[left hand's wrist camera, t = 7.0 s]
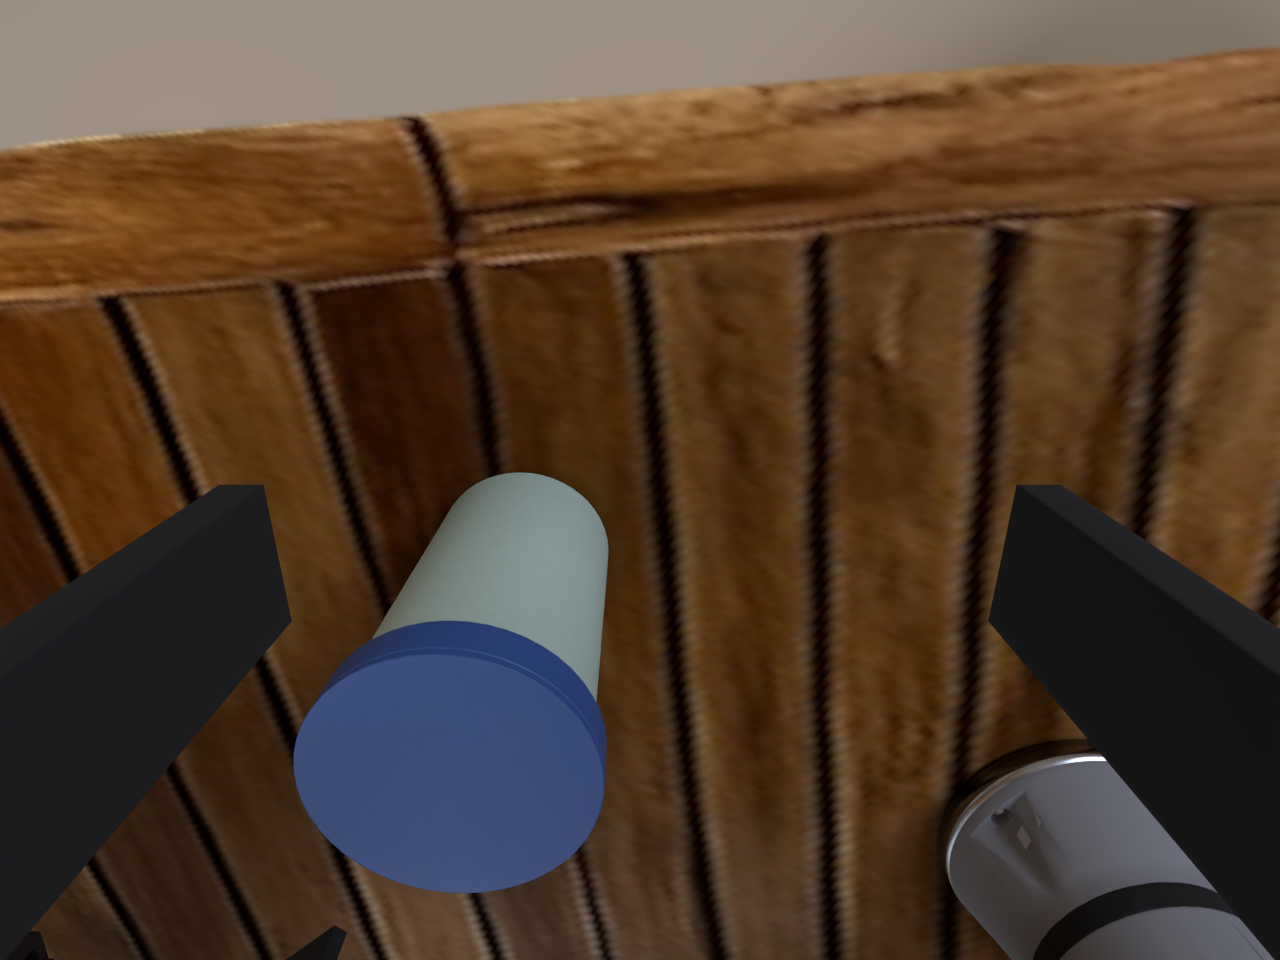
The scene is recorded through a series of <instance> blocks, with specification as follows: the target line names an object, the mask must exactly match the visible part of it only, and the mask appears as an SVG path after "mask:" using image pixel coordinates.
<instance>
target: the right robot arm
mask: <svg viewBox="0 0 1280 960" xmlns="http://www.w3.org/2000/svg"><path fill="white" fill-rule="evenodd" d="M346 934H347V932H345V931H344V930H342V929H340V928H339V927H337V926H333V927H332V928H330V929H329V930H328V931H326V932H325V933H323V934H322V935H320V936H319V937H318V938H316V939H315V940H313V941H312V942H311V943H309V944H308V945H306V946H305V947H303V948H302V949H301V950H299V951H298V952H296V953H295V954H294V955H292V956H291V957H289V958H288V959H286V960H337V958H338V955H339V952H340V950H341V947H342V944H343V942H344V939H345V936H346ZM6 960H54V959H51V958H48V955H47V952H46V949H45V945H44V942H43V939H42V936H41V933H40V932H35V931H29V933H28V934H27V935H26V936H25V937H24V939H23V940H22V941H21V942H20V943H19V945H18V946H17V947H16V948H15V949H14V950H13V952H12V953H11V954H10V955H9V956H8V958H7V959H6Z"/></svg>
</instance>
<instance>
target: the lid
mask: <svg viewBox="0 0 1280 960" xmlns="http://www.w3.org/2000/svg"><path fill="white" fill-rule="evenodd" d="M606 744H607V741H606V733H605V726H604V722H603V719H602V716H601V712H600V710H599V708H598V706H597V703H596V701H595V699H594V697H593V695H592V694H591V692H590V691H589V689H588V688H587V686H586V685H585V683H584V682H583V681H582V680H581V678H580V677H579V676H578V675H577V674H576V673H575V672H574V670H573V669H572V668H571V667H570V666H568V665H567V664H566V663H565V662H564V661H563V660H562V659H560V658H559V657H558V656H557V655H555V654H554V653H552V652H551V651H549V650H548V649H546V648H545V647H543V646H542V645H540V644H538V643H536V642H534V641H532V640H530V639H528V638H527V637H525V636H522V635H519V634H517V633H514V632H512V631H509V630H506V629H503V628H499V627H495V626H491V625H488V624H482V623H475V622H468V621H447V620H446V621H432V622H423V623H418V624H413V625H408V626H404V627H401V628H398V629H395V630H392V631H389V632H387V633H385V634H382V635H380V636H378V637H376V638H374V639H372V640H370V641H369V642H367V643H366V644H364V645H362V646H361V647H359V648H358V649H356V650H355V651H354V652H353V653H352V654H351V655H350V656H348V657H347V658H346V659H345V660H344V661H343V662H342V663H341V665H340V666H339V667H338V668H337V669H336V671H335V672H334V673H333V675H332V676H331V678H330V679H329V681H328V682H327V684H326V685H325V687H324V689H323V690H322V692H321V693H320V695H319V696H318V698H317V699H316V701H315V703H314V704H313V706H312V707H311V709H310V710H309V712H308V714H307V716H306V717H305V719H304V721H303V722H302V725H301V727H300V730H299V733H298V736H297V738H296V744H295V750H294V775H295V780H296V786H297V789H298V792H299V795H300V798H301V801H302V803H303V805H304V807H305V809H306V810H307V812H308V814H309V816H310V818H311V819H312V820H313V822H314V823H315V825H316V826H317V827H318V829H319V830H320V831H321V832H322V833H323V834H324V836H325V837H326V838H327V839H328V840H329V841H330V842H331V843H332V844H333V845H334V846H336V847H337V848H338V849H339V850H340V851H341V852H343V853H344V854H345V855H346V856H348V857H349V858H351V859H352V860H354V861H355V862H357V863H358V864H360V865H361V866H363V867H365V868H367V869H369V870H371V871H373V872H374V873H376V874H379V875H381V876H383V877H386V878H388V879H391V880H393V881H396V882H399V883H402V884H406V885H409V886H412V887H417V888H422V889H426V890H432V891H440V892H448V893H476V892H488V891H494V890H500V889H505V888H509V887H513V886H516V885H520V884H523V883H525V882H528V881H531V880H533V879H536V878H538V877H540V876H542V875H544V874H546V873H548V872H549V871H551V870H553V869H554V868H556V867H557V866H559V865H560V864H562V863H563V862H564V861H566V860H567V859H568V858H569V857H570V856H571V855H572V854H573V853H575V852H576V851H577V850H578V848H579V847H580V846H581V845H582V844H583V842H584V841H585V840H586V839H587V837H588V836H589V834H590V832H591V831H592V829H593V827H594V826H595V824H596V821H597V819H598V816H599V813H600V811H601V807H602V802H603V797H604V784H605V766H606Z"/></svg>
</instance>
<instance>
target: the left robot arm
mask: <svg viewBox="0 0 1280 960" xmlns="http://www.w3.org/2000/svg"><path fill="white" fill-rule="evenodd" d="M290 622H291V616H290V611H289V606H288V602H287V597H286V592H285V587H284V582H283V578H282V573H281V568H280V563H279V558H278V553H277V549H276V544H275V539H274V534H273V529H272V525H271V520H270V515H269V510H268V505H267V501H266V496H265V491H264V486H263V485H218V486H217V487H215V488H214V489H212V490H211V491H209V492H208V493H206V494H205V495H203V496H202V497H200V498H199V499H197V500H196V501H194V502H193V503H191V504H189V505H188V506H186V507H185V508H183V509H182V510H180V511H179V512H177V513H176V514H174V515H173V516H171V517H170V518H168V519H167V520H165V521H164V522H162V523H161V524H159V525H158V526H156V527H154V528H153V529H151V530H150V531H148V532H147V533H145V534H144V535H142V536H141V537H139V538H138V539H136V540H135V541H133V542H132V543H130V544H129V545H127V546H126V547H124V548H123V549H121V550H120V551H118V552H116V553H115V554H113V555H112V556H110V557H109V558H107V559H106V560H104V561H103V562H101V563H100V564H98V565H97V566H95V567H94V568H92V569H91V570H89V571H88V572H86V573H85V574H83V575H81V576H80V577H78V578H77V579H75V580H74V581H72V582H71V583H69V584H68V585H66V586H65V587H63V588H62V589H60V590H59V591H57V592H56V593H54V594H53V595H51V596H50V597H48V598H46V599H45V600H43V601H42V602H40V603H39V604H37V605H36V606H34V607H33V608H31V609H30V610H28V611H27V612H25V613H24V614H22V615H21V616H19V617H18V618H16V619H15V620H13V621H11V622H10V623H8V624H7V625H5V626H4V627H2V628H1V629H0V960H6V959H7V958H8V956H9V955H10V954H11V953H12V952H13V950H14V949H15V948H16V947H17V946H18V945H19V943H20V942H21V941H22V940H23V939H24V937H25V936H26V935H27V934H28V933H29V931H30V930H31V929H32V928H33V927H34V926H35V924H36V923H37V922H38V921H39V920H40V918H41V917H42V916H43V915H44V914H45V913H46V911H47V910H48V909H49V908H50V907H51V905H52V904H53V903H54V902H55V901H56V900H57V898H58V897H59V896H60V895H61V894H62V892H63V891H64V890H65V889H66V888H67V886H68V885H69V884H70V883H71V882H72V881H73V879H74V878H75V877H76V876H77V875H78V873H79V872H80V871H81V870H82V869H83V868H84V866H85V865H86V864H87V863H88V862H89V860H90V859H91V858H92V857H93V856H94V854H95V853H96V852H97V851H98V850H99V849H100V847H101V846H102V845H103V844H104V843H105V841H106V840H107V839H108V838H109V837H110V836H111V834H112V833H113V832H114V831H115V830H116V828H117V827H118V826H119V825H120V824H121V823H122V821H123V820H124V819H125V818H126V817H127V815H128V814H129V813H130V812H131V811H132V809H133V808H134V807H135V806H136V805H137V804H138V802H139V801H140V800H141V799H142V798H143V796H144V795H145V794H146V793H147V792H148V791H149V789H150V788H151V787H152V786H153V785H154V783H155V782H156V781H157V780H158V779H159V778H160V776H161V775H162V774H163V773H164V772H165V770H166V769H167V768H168V767H169V766H170V764H171V763H172V762H173V761H174V760H175V759H176V757H177V756H178V755H179V754H180V753H181V751H182V750H183V749H184V748H185V747H186V746H187V744H188V743H189V742H190V741H191V740H192V738H193V737H194V736H195V735H196V734H197V732H198V731H199V730H200V729H201V728H202V727H203V725H204V724H205V723H206V722H207V721H208V719H209V718H210V717H211V716H212V715H213V714H214V712H215V711H216V710H217V709H218V708H219V706H220V705H221V704H222V703H223V702H224V701H225V699H226V698H227V697H228V696H229V695H230V693H231V692H232V691H233V690H234V689H235V687H236V686H237V685H238V684H239V683H240V682H241V680H242V679H243V678H244V677H245V676H246V674H247V673H248V672H249V671H250V670H251V669H252V667H253V666H254V665H255V664H256V663H257V661H258V660H259V659H260V658H261V657H262V656H263V654H264V653H265V652H266V651H267V650H268V648H269V647H270V646H271V645H272V644H273V642H274V641H275V640H276V639H277V638H278V637H279V635H280V634H281V633H282V632H283V631H284V629H285V628H286V627H287V626H288V625H289V624H290ZM989 622H990V624H991V625H992V626H993V627H994V628H995V629H996V631H997V632H998V633H999V634H1000V635H1001V637H1002V638H1003V639H1004V640H1005V641H1006V642H1007V644H1008V645H1009V646H1010V647H1011V648H1012V650H1013V651H1014V652H1015V653H1016V654H1017V656H1018V657H1019V658H1020V659H1021V660H1022V661H1023V663H1024V664H1025V665H1026V666H1027V667H1028V669H1029V670H1030V671H1031V672H1032V673H1033V674H1034V676H1035V677H1036V678H1037V679H1038V680H1039V682H1040V683H1041V684H1042V685H1043V686H1044V687H1045V689H1046V690H1047V691H1048V692H1049V693H1050V695H1051V696H1052V697H1053V698H1054V699H1055V701H1056V702H1057V703H1058V704H1059V705H1060V706H1061V708H1062V709H1063V710H1064V711H1065V712H1066V714H1067V715H1068V716H1069V717H1070V718H1071V719H1072V721H1073V722H1074V723H1075V724H1076V725H1077V727H1078V728H1079V729H1080V730H1081V731H1082V732H1083V734H1084V735H1085V736H1086V737H1087V738H1088V740H1064V741H1056V742H1050V743H1045V744H1041V745H1037V746H1033V747H1030V748H1027V749H1024V750H1021V751H1019V752H1016V753H1014V754H1011V755H1009V756H1007V757H1005V758H1003V759H1001V760H999V761H997V762H996V763H994V764H992V765H991V766H989V767H988V768H986V769H985V770H983V771H982V772H980V773H979V774H978V775H977V776H975V777H974V778H973V779H972V780H971V781H970V782H969V783H967V784H966V785H965V786H964V787H963V789H962V790H961V791H960V792H959V793H958V794H957V795H956V797H955V798H954V800H953V801H952V802H951V804H950V806H949V807H948V809H947V811H946V813H945V815H944V817H943V819H942V823H941V826H940V830H939V835H938V853H939V857H940V861H941V864H942V866H943V869H944V871H945V873H946V875H947V877H948V880H949V882H950V884H951V886H952V888H953V890H954V892H955V894H956V896H957V897H958V899H959V900H960V902H961V903H962V904H963V905H964V906H965V907H966V908H967V910H968V911H969V912H970V913H971V914H972V915H973V916H974V918H975V919H976V920H977V921H978V922H979V923H980V924H981V925H982V926H983V928H984V929H985V930H986V931H987V932H988V933H989V934H990V935H991V937H992V938H993V939H994V940H995V941H996V942H997V943H998V944H999V945H1000V947H1001V948H1002V949H1003V950H1004V951H1005V952H1006V953H1007V954H1008V955H1009V957H1010V958H1011V959H1012V960H1280V629H1279V628H1278V627H1276V626H1275V625H1273V624H1272V623H1270V622H1269V621H1267V620H1265V619H1264V618H1262V617H1261V616H1259V615H1258V614H1256V613H1255V612H1253V611H1252V610H1250V609H1249V608H1247V607H1246V606H1244V605H1243V604H1241V603H1240V602H1238V601H1237V600H1235V599H1234V598H1232V597H1230V596H1229V595H1227V594H1226V593H1224V592H1223V591H1221V590H1220V589H1218V588H1217V587H1215V586H1214V585H1212V584H1211V583H1209V582H1208V581H1206V580H1205V579H1203V578H1202V577H1200V576H1199V575H1197V574H1195V573H1194V572H1192V571H1191V570H1189V569H1188V568H1186V567H1185V566H1183V565H1182V564H1180V563H1179V562H1177V561H1176V560H1174V559H1173V558H1171V557H1170V556H1168V555H1167V554H1165V553H1164V552H1162V551H1160V550H1159V549H1157V548H1156V547H1154V546H1153V545H1151V544H1150V543H1148V542H1147V541H1145V540H1144V539H1142V538H1141V537H1139V536H1138V535H1136V534H1135V533H1133V532H1132V531H1130V530H1129V529H1127V528H1126V527H1124V526H1122V525H1121V524H1119V523H1118V522H1116V521H1115V520H1113V519H1112V518H1110V517H1109V516H1107V515H1106V514H1104V513H1103V512H1101V511H1100V510H1098V509H1097V508H1095V507H1094V506H1092V505H1091V504H1089V503H1087V502H1086V501H1084V500H1083V499H1081V498H1080V497H1078V496H1077V495H1075V494H1074V493H1072V492H1071V491H1069V490H1068V489H1066V488H1065V487H1063V486H1062V485H1017V486H1016V491H1015V496H1014V501H1013V505H1012V510H1011V515H1010V520H1009V525H1008V529H1007V534H1006V539H1005V544H1004V549H1003V553H1002V558H1001V563H1000V568H999V573H998V577H997V582H996V587H995V592H994V597H993V602H992V606H991V611H990V616H989Z"/></svg>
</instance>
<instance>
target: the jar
mask: <svg viewBox="0 0 1280 960" xmlns="http://www.w3.org/2000/svg"><path fill="white" fill-rule="evenodd" d="M607 566H608V541H607V536H606V532H605V529H604V526H603V524H602V522H601V519H600V518H599V516H598V514H597V513H596V511H595V510H594V508H593V507H592V506H591V505H590V503H589V502H588V501H587V500H586V499H585V498H584V497H583V496H582V495H580V494H579V493H578V492H577V491H575V490H574V489H573V488H571V487H569V486H568V485H566V484H564V483H562V482H560V481H558V480H555V479H553V478H550V477H547V476H543V475H539V474H533V473H507V474H502V475H497V476H494V477H491V478H488V479H485V480H483V481H481V482H479V483H477V484H475V485H474V486H472V487H471V488H469V489H468V490H467V491H466V492H464V493H463V494H462V495H461V496H460V497H459V498H458V500H457V501H456V502H455V503H454V504H453V506H452V508H451V509H450V511H449V512H448V514H447V516H446V517H445V519H444V521H443V522H442V524H441V526H440V527H439V529H438V531H437V532H436V534H435V536H434V537H433V539H432V541H431V542H430V544H429V545H428V547H427V549H426V550H425V552H424V554H423V555H422V557H421V559H420V560H419V562H418V564H417V565H416V567H415V569H414V570H413V572H412V574H411V575H410V577H409V578H408V580H407V582H406V583H405V585H404V587H403V588H402V590H401V592H400V593H399V595H398V597H397V598H396V600H395V602H394V603H393V605H392V607H391V608H390V610H389V611H388V613H387V615H386V616H385V618H384V620H383V621H382V623H381V625H380V626H379V628H378V630H377V631H376V633H375V635H374V636H373V638H372V639H374V638H376V637H378V636H380V635H382V634H385V633H387V632H389V631H392V630H395V629H398V628H401V627H404V626H408V625H413V624H418V623H423V622H432V621H446V620H447V621H468V622H475V623H482V624H488V625H491V626H495V627H499V628H503V629H506V630H509V631H512V632H514V633H517V634H519V635H522V636H525V637H527V638H528V639H530V640H532V641H534V642H536V643H538V644H540V645H542V646H543V647H545V648H546V649H548V650H549V651H551V652H552V653H554V654H555V655H557V656H558V657H559V658H560V659H562V660H563V661H564V662H565V663H566V664H567V665H568V666H570V667H571V668H572V669H573V670H574V672H575V673H576V674H577V675H578V676H579V677H580V678H581V680H582V681H583V682H584V683H585V685H586V686H587V688H588V689H589V691H590V692H591V694H592V695H593V697H594V699H595V701H596V700H597V688H598V676H599V663H600V651H601V639H602V627H603V614H604V602H605V590H606V578H607Z"/></svg>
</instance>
